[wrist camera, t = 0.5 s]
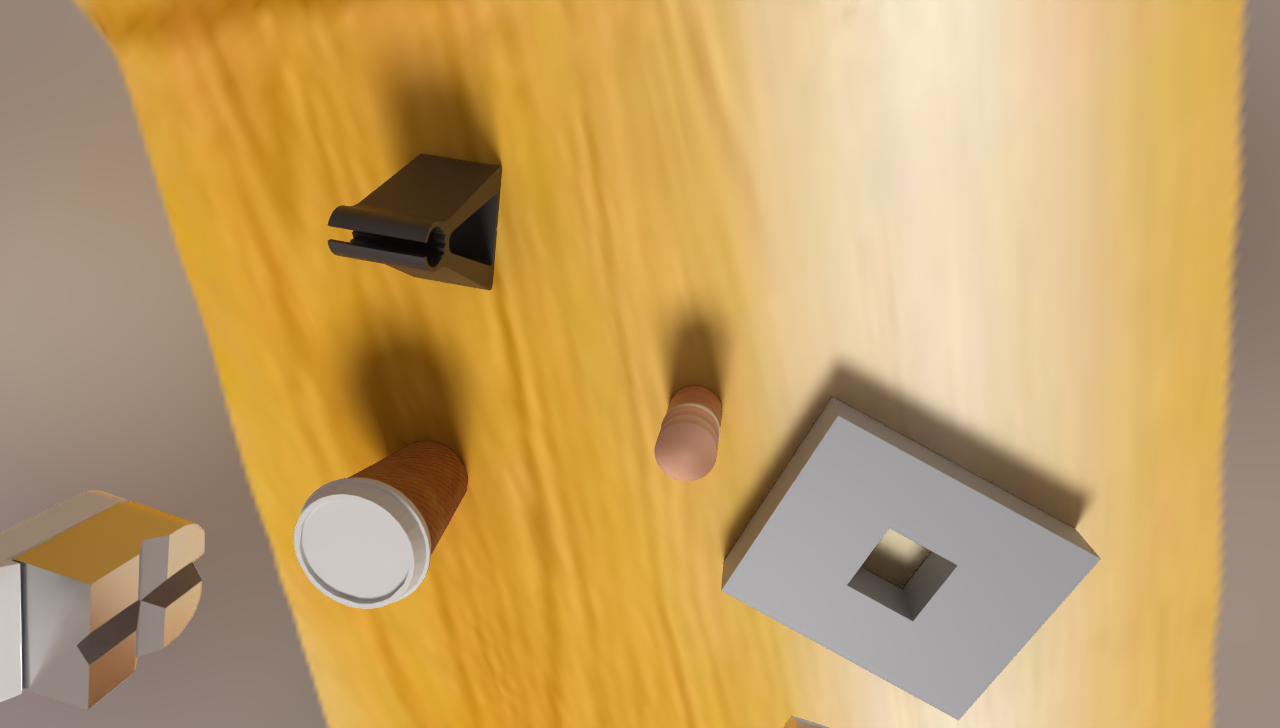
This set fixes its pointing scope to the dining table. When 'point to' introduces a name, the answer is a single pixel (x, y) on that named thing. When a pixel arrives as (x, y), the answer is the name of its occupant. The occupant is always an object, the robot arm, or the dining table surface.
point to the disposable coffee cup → (380, 525)
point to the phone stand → (428, 222)
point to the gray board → (938, 591)
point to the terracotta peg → (689, 434)
